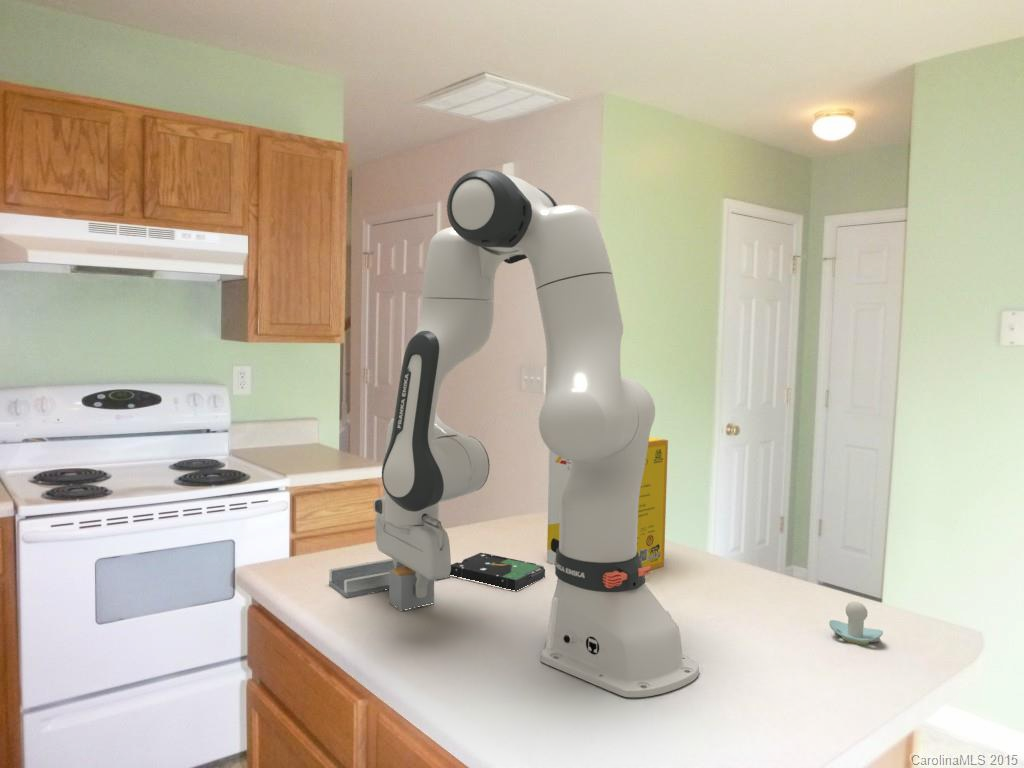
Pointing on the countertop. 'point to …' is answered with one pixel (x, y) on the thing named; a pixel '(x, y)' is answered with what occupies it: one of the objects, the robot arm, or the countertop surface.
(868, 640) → the pacifier
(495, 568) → the disk drive
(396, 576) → the module
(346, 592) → the rail
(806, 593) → the countertop surface
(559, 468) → the packaging box
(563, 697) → the countertop surface
